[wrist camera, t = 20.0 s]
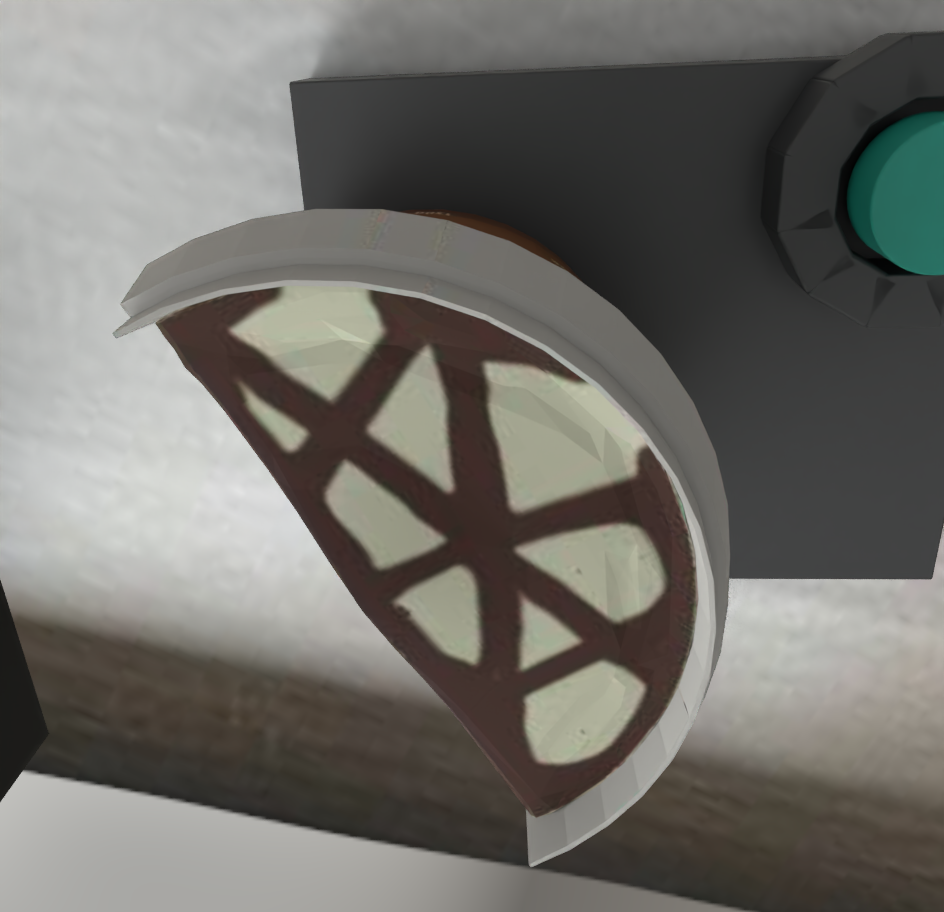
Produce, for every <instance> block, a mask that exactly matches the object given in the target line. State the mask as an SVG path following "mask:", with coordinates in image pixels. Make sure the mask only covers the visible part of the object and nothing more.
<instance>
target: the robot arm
mask: <svg viewBox="0 0 944 912" xmlns="http://www.w3.org/2000/svg"><path fill="white" fill-rule="evenodd" d="M48 734H49V733H48V730H47V726H46V723H45V720H44V717H43V714H42V711H41V707H40V704H39V701H38V698H37V695H36V691H35V688H34V685H33V682H32V679H31V676H30V672H29V669H28V666H27V663H26V660H25V657H24V653H23V650H22V647H21V644H20V641H19V637H18V634H17V631H16V628H15V625H14V622H13V618H12V615H11V612H10V609H9V606H8V603H7V599H6V596H5V593H4V590H3V587H2V584H1V580H0V802H1V800H2V799H3V797H4V796H5V794H6V793H7V792H8V790H9V789H10V788H11V786H12V785H13V783H14V782H15V781H16V779H17V778H18V776H19V775H20V774H21V772H22V771H23V769H24V768H25V767H26V765H27V764H28V762H29V761H30V760H31V758H32V757H33V755H34V754H35V753H36V751H37V750H38V748H39V747H40V746H41V744H42V743H43V741H44V740H45V739H46V737H47V736H48Z"/></svg>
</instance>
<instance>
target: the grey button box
mask: <svg viewBox="0 0 944 912" xmlns="http://www.w3.org/2000/svg"><path fill="white" fill-rule="evenodd" d="M290 93H291V101H292V110H293V118H294V127H295V135H296V144H297V152H298V161H299V169H300V178H301V186H302V195H303V204H304V211H305V210H312V209H383V210H389V211H395V212H400V211H406V210H434V209H444V210H451V211H457V212H464V213H470V214H476V215H479V216H482V217H485V218H489V219H492V220H495V221H498V222H501V223H504V224H507V225H509V226H511V227H513V228H515V229H517V230H519V231H521V232H523V233H525V234H526V235H528V236H530V237H532V238H534V239H536V240H537V241H538V242H540V243H541V244H542V245H544V246H545V247H547V248H548V249H549V250H551V251H552V252H553V253H555V254H556V255H557V256H559V257H560V258H561V259H562V260H563V261H564V262H565V263H566V264H567V265H568V266H569V267H570V268H571V269H572V270H573V272H574V273H575V274H576V275H577V276H578V277H579V278H580V279H581V280H582V282H583V283H584V284H585V285H587V286H588V287H589V288H591V289H592V290H593V291H595V292H596V293H597V294H599V295H600V296H601V297H603V298H604V299H605V300H607V301H608V302H609V303H611V304H612V305H613V306H615V307H616V308H617V309H619V310H620V311H621V312H622V314H623V315H624V316H625V317H626V318H627V319H628V320H629V321H630V322H631V323H632V324H633V325H634V326H635V327H636V328H637V329H638V330H639V331H640V332H641V333H642V335H643V336H644V337H645V338H646V339H647V340H648V341H649V342H650V343H651V344H652V345H653V346H654V347H655V348H656V349H657V350H658V351H659V352H660V353H661V355H662V356H663V358H664V359H665V361H666V362H667V364H668V365H669V367H670V368H671V370H672V371H673V373H674V374H675V375H676V377H677V378H678V380H679V381H680V383H681V384H682V386H683V387H684V389H685V390H686V392H687V393H688V395H689V396H690V398H691V399H692V401H693V402H694V405H695V407H696V409H697V411H698V414H699V416H700V418H701V421H702V423H703V425H704V427H705V430H706V432H707V434H708V437H709V439H710V441H711V443H712V446H713V448H714V450H715V452H716V456H717V460H718V465H719V469H720V473H721V477H722V482H723V486H724V490H725V495H726V499H727V503H728V520H729V542H730V567H729V578H732V579H932V577H933V572H934V567H935V562H936V557H937V552H938V548H939V543H940V538H941V533H942V528H943V524H944V275H923V274H917V273H913V272H910V271H907V270H905V269H903V268H901V267H899V266H897V265H896V264H894V263H893V262H891V261H890V260H888V259H887V258H885V257H883V256H882V255H880V254H879V253H877V252H876V251H874V250H873V249H871V248H870V247H868V246H867V245H866V244H865V243H864V242H863V241H862V240H861V239H860V237H859V236H858V235H857V234H856V232H855V230H854V228H853V226H852V224H851V221H850V218H849V214H848V210H847V189H848V184H849V180H850V177H851V174H852V171H853V168H854V166H855V164H856V162H857V160H858V159H859V157H860V155H861V154H862V152H863V151H864V149H865V148H866V147H867V146H868V144H869V143H870V142H871V141H872V140H873V139H874V138H875V137H876V136H877V135H878V134H879V133H881V132H882V131H883V130H884V129H886V128H887V127H889V126H890V125H892V124H893V123H895V122H897V121H899V120H901V119H903V118H905V117H908V116H911V115H914V114H918V113H922V112H930V111H944V31H931V32H908V33H887V34H885V35H881V36H879V37H877V38H876V39H874V40H872V41H871V42H869V43H867V44H866V45H864V46H862V47H861V48H859V49H857V50H856V51H854V52H853V53H851V54H849V55H848V56H827V57H803V58H779V59H756V60H732V61H708V62H685V63H661V64H637V65H614V66H590V67H566V68H543V69H519V70H495V71H471V72H448V73H424V74H400V75H377V76H353V77H329V78H309V79H304V80H298V81H293V82H290Z"/></svg>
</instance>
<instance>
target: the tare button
mask: <svg viewBox="0 0 944 912" xmlns="http://www.w3.org/2000/svg"><path fill="white" fill-rule="evenodd" d="M847 210H848V214H849V218H850V221H851V224H852V226H853V228H854V230H855V232H856V234H857V235H858V236H859V237H860V239H861V240H862V241H863V242H864V243H865V244H866V245H867V246H868V247H870V248H871V249H873V250H874V251H876V252H877V253H879V254H880V255H882V256H883V257H885V258H887V259H888V260H890V261H891V262H893V263H894V264H896V265H897V266H899V267H901V268H903V269H905V270H907V271H910V272H913V273H917V274H923V275H944V111H930V112H922V113H918V114H914V115H911V116H908V117H905V118H903V119H901V120H899V121H897V122H895V123H893V124H892V125H890V126H889V127H887V128H886V129H884V130H883V131H882V132H881V133H879V134H878V135H877V136H876V137H875V138H874V139H873V140H872V141H871V142H870V143H869V144H868V146H867V147H866V148H865V149H864V151H863V152H862V154H861V155H860V157H859V159H858V160H857V162H856V164H855V166H854V168H853V171H852V174H851V177H850V180H849V184H848V189H847Z"/></svg>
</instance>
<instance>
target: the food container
mask: <svg viewBox="0 0 944 912" xmlns="http://www.w3.org/2000/svg"><path fill="white" fill-rule="evenodd" d="M120 305H121V306H122V307H123V309H124V310H125V311H126V312H127V314H128V315H129V316H130V317H131V318H130V319H129V320H127V321H126V322H125V323H124V324H123V325H122V326H120V327H119V328H118V329H117V330H116V331H115V332H113V333H112V334H113V335H114V336H115V338H119V337H121V336H123V335H126V334H128V333H130V332H133V331H135V330H137V329H140V328H142V327H145V326H147V325H149V324H152V323H154V322H156V321H157V322H156V325H157V326H158V328H159V329H160V331H161V332H162V334H163V335H164V337H165V338H166V339H167V340H168V342H169V343H170V344H171V345H172V347H173V348H174V349H175V351H176V353H177V354H178V356H179V358H180V360H181V361H182V363H183V365H184V366H185V368H186V369H187V370H188V371H189V372H190V373H191V374H192V375H193V376H194V377H195V378H197V379H198V380H199V381H200V382H201V383H202V384H203V386H204V387H205V388H206V389H207V390H208V392H209V393H210V394H211V395H212V396H213V398H214V399H215V400H216V401H217V402H218V404H219V405H220V406H221V407H222V408H223V410H224V411H225V412H226V413H227V415H228V416H229V418H230V419H231V420H232V422H233V423H234V424H235V426H236V427H237V428H238V430H239V431H240V432H241V434H242V435H243V436H244V438H245V439H246V440H247V442H248V443H249V445H250V446H251V447H252V449H253V450H254V451H255V453H256V454H257V455H258V457H259V458H260V459H261V461H262V462H263V463H264V465H265V466H266V467H267V469H268V470H269V472H270V473H271V475H272V476H273V477H274V479H275V480H276V482H277V483H278V485H279V486H280V488H281V489H282V491H283V492H284V493H285V495H286V496H287V498H288V499H289V501H290V502H291V504H292V505H293V506H294V508H295V509H296V511H297V512H298V514H299V515H300V517H301V519H302V520H303V522H304V523H305V525H306V526H307V528H308V529H309V531H310V533H311V534H312V536H313V537H314V539H315V540H316V542H317V544H318V545H319V547H320V548H321V550H322V551H323V553H324V554H325V556H326V558H327V559H328V561H329V562H330V564H331V565H332V567H333V568H334V570H335V571H336V573H337V574H338V575H339V577H340V578H341V580H342V581H343V583H344V584H345V586H346V587H347V589H348V590H349V592H350V593H351V594H352V596H353V597H354V599H355V601H356V602H357V604H358V605H359V607H360V608H361V609H362V611H363V612H364V613H365V615H366V616H367V617H368V618H369V619H370V620H371V622H372V623H373V624H374V625H375V626H376V627H377V628H378V630H379V631H380V632H381V633H382V634H383V635H384V636H385V638H386V639H387V640H388V641H389V642H390V643H391V645H392V646H393V647H394V648H395V649H396V650H397V651H398V652H399V653H400V654H401V655H402V656H403V658H404V659H405V660H406V661H407V662H408V663H409V664H410V665H411V666H412V667H413V668H414V669H415V670H416V671H417V672H418V673H419V674H420V676H421V677H422V678H423V679H424V680H425V681H426V682H427V683H428V684H429V686H430V687H431V688H432V689H433V690H434V691H435V692H436V694H437V695H438V696H439V697H440V698H441V699H442V700H443V702H444V703H445V704H446V705H447V706H448V707H449V708H450V710H451V711H452V712H453V714H454V715H455V716H456V717H457V719H458V720H459V721H460V723H461V724H462V725H463V727H464V728H465V729H466V730H467V732H468V733H469V734H470V736H471V737H472V738H473V740H474V741H475V742H476V744H477V745H478V746H479V747H480V749H481V750H482V751H483V753H484V754H485V755H486V757H487V758H488V759H489V760H490V762H491V763H492V764H493V766H494V767H495V768H496V770H497V771H498V772H499V774H500V775H501V776H502V778H503V779H504V780H505V782H506V783H507V784H508V786H509V787H510V788H511V789H512V791H513V792H514V793H515V795H516V796H517V797H518V799H519V800H520V801H521V803H522V804H523V805H524V807H525V808H526V816H527V837H528V857H529V865H530V866H531V867H533V866H535V865H537V864H539V863H542V862H544V861H546V860H548V859H550V858H553V857H555V856H557V855H559V854H562V853H564V852H566V851H568V850H570V849H572V848H574V847H575V846H577V845H578V844H580V843H581V842H583V841H585V840H586V839H588V838H589V837H591V836H593V835H594V834H596V833H597V832H599V831H601V830H602V829H604V828H605V827H607V826H608V825H610V824H611V823H612V822H613V821H614V820H615V819H617V818H618V817H619V816H620V815H621V814H622V813H624V812H625V811H626V810H627V809H628V808H629V807H630V806H632V805H633V804H634V803H635V802H636V801H637V800H639V799H640V798H641V797H642V796H643V795H644V794H645V793H646V791H647V790H648V789H649V788H650V787H651V785H652V784H653V783H654V782H655V781H656V779H657V778H658V777H659V776H660V775H661V773H662V772H663V771H664V770H665V768H666V767H667V766H668V765H669V764H670V762H671V761H672V760H673V758H674V756H675V755H676V753H677V751H678V749H679V748H680V746H681V744H682V742H683V740H684V739H685V737H686V735H687V733H688V732H689V730H690V728H691V726H692V725H693V723H694V721H695V718H696V715H697V713H698V710H699V707H700V705H701V703H702V702H703V700H704V698H705V695H706V693H707V690H708V687H709V684H710V681H711V678H712V676H713V673H714V670H715V667H716V664H717V661H718V659H719V656H720V653H721V646H722V640H723V633H724V627H725V620H726V613H727V607H728V590H729V567H730V542H729V520H728V503H727V499H726V495H725V490H724V486H723V482H722V477H721V473H720V469H719V465H718V460H717V456H716V452H715V450H714V448H713V446H712V443H711V441H710V439H709V437H708V434H707V432H706V430H705V427H704V425H703V423H702V421H701V418H700V416H699V414H698V411H697V409H696V407H695V405H694V402H693V401H692V399H691V398H690V396H689V395H688V393H687V392H686V390H685V389H684V387H683V386H682V384H681V383H680V381H679V380H678V378H677V377H676V375H675V374H674V373H673V371H672V370H671V368H670V367H669V365H668V364H667V362H666V361H665V359H664V358H663V356H662V355H661V353H660V352H659V351H658V350H657V349H656V348H655V347H654V346H653V345H652V344H651V343H650V342H649V341H648V340H647V339H646V338H645V337H644V336H643V335H642V333H641V332H640V331H639V330H638V329H637V328H636V327H635V326H634V325H633V324H632V323H631V322H630V321H629V320H628V319H627V318H626V317H625V316H624V315H623V314H622V312H621V311H620V310H619V309H617V308H616V307H615V306H613V305H612V304H611V303H609V302H608V301H607V300H605V299H604V298H603V297H601V296H600V295H599V294H597V293H596V292H595V291H593V290H592V289H591V288H589V287H588V286H587V285H585V284H584V283H583V282H582V280H581V279H580V278H579V277H578V276H577V275H576V274H575V273H574V272H573V270H572V269H571V268H570V267H569V266H568V265H567V264H566V263H565V262H564V261H563V260H562V259H561V258H560V257H559V256H557V255H556V254H555V253H553V252H552V251H551V250H549V249H548V248H547V247H545V246H544V245H542V244H541V243H540V242H538V241H537V240H536V239H534V238H532V237H530V236H528V235H526V234H525V233H523V232H521V231H519V230H517V229H515V228H513V227H511V226H509V225H507V224H504V223H501V222H498V221H495V220H492V219H489V218H485V217H482V216H479V215H476V214H470V213H464V212H457V211H451V210H444V209H434V210H406V211H400V212H395V211H389V210H383V209H312V210H305V211H299V212H293V213H287V214H280V215H274V216H268V217H262V218H255V219H251V220H248V221H245V222H242V223H239V224H236V225H233V226H230V227H227V228H224V229H222V230H219V231H216V232H213V233H210V234H207V235H204V236H201V237H198V238H195V239H193V240H191V241H189V242H187V243H185V244H184V245H182V246H180V247H178V248H176V249H175V250H173V251H171V252H169V253H167V254H165V255H164V256H162V257H160V258H158V259H156V260H154V261H153V262H151V263H149V264H147V265H146V267H145V268H144V270H143V271H142V273H141V274H140V276H139V277H138V279H137V280H136V281H135V283H134V284H133V286H132V287H131V289H130V290H129V292H128V293H127V295H126V296H125V298H124V299H123V301H122V302H121V303H120Z"/></svg>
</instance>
